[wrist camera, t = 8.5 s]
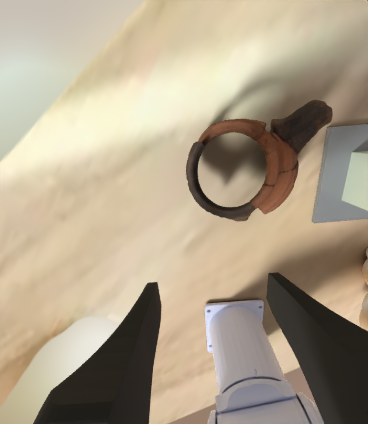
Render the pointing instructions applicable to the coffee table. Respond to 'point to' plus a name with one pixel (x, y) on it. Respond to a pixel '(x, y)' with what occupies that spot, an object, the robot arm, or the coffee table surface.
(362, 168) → the brick
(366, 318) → the kitten
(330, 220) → the plate
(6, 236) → the coffee table surface
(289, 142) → the brown ring with handle
